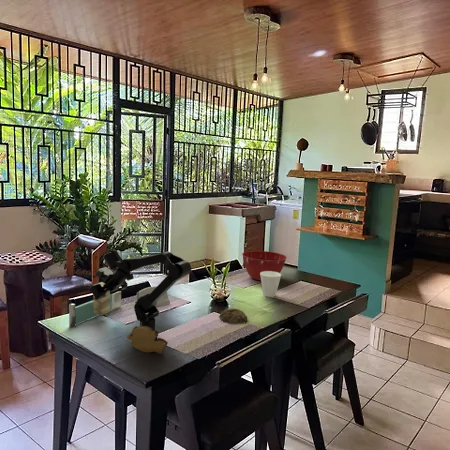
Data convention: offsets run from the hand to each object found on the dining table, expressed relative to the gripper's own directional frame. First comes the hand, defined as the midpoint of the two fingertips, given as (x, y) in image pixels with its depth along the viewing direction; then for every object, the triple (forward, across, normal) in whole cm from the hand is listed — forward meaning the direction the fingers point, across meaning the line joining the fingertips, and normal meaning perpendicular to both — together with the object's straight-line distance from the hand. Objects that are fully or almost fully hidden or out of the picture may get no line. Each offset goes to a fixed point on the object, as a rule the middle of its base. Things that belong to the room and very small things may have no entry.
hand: (99, 297), depth 184 cm
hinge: (+2, -29, +13) cm, 32 cm away
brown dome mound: (-28, -34, +44) cm, 62 cm away
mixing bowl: (-19, -107, +34) cm, 114 cm away
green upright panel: (+8, +1, +5) cm, 10 cm away
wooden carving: (-19, +14, +34) cm, 42 cm away
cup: (-30, -77, +45) cm, 94 cm away
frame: (+9, -1, +5) cm, 11 cm away
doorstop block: (+4, 0, +6) cm, 7 cm away
